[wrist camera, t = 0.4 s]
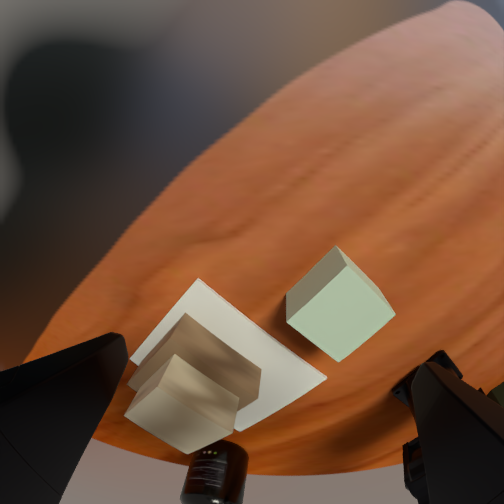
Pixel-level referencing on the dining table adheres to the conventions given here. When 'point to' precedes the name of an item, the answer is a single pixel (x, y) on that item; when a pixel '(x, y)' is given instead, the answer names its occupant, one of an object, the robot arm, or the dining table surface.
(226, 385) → the walnut slab
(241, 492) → the supplement bottle
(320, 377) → the grey mat
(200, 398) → the birch block
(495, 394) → the wine bottle
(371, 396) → the dining table surface
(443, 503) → the robot arm
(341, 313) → the sage block
